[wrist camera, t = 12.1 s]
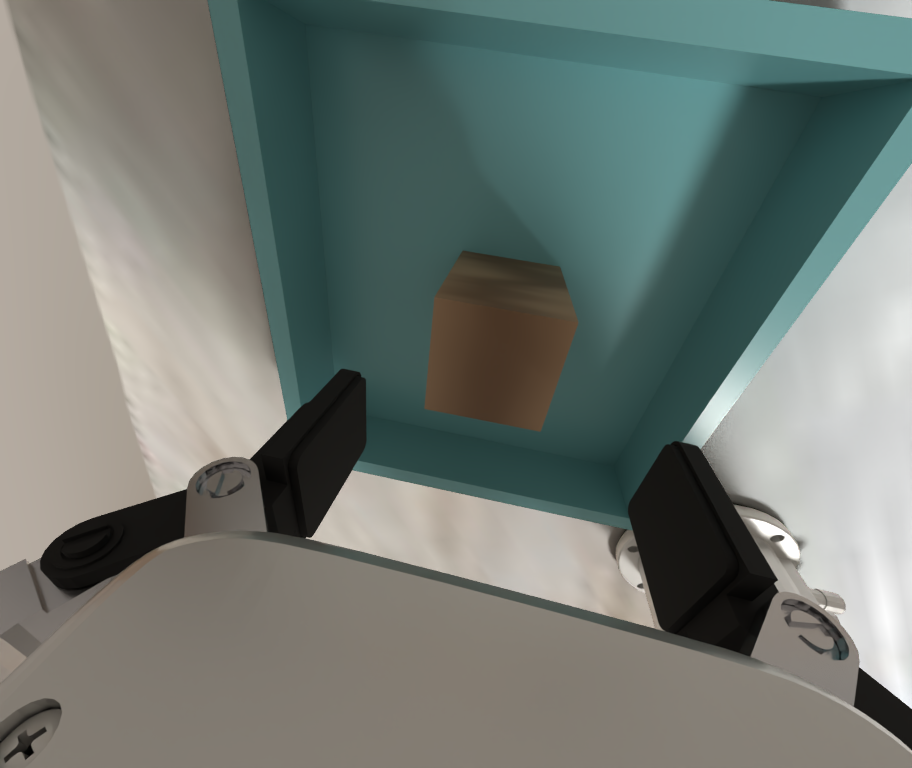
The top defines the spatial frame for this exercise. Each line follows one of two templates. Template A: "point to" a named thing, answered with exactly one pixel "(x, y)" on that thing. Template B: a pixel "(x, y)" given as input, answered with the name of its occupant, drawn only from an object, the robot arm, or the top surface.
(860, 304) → the top surface
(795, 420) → the top surface
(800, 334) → the top surface
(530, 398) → the walnut block
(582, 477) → the bin
